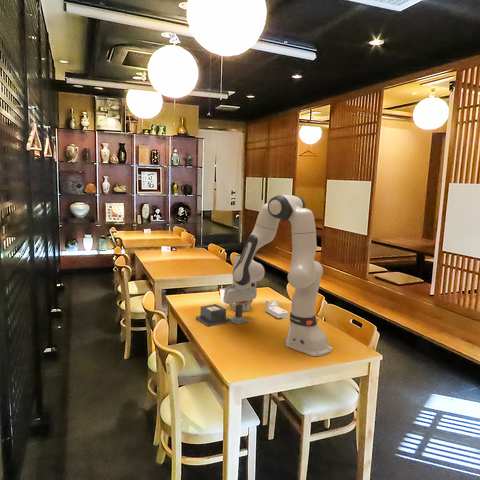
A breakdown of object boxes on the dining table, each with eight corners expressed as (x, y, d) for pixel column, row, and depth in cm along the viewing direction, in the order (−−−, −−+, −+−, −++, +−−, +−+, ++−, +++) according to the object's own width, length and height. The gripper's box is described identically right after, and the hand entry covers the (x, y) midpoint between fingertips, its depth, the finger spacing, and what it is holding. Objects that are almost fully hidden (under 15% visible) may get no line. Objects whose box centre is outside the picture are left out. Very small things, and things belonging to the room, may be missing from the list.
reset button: (220, 318, 205) (221, 309, 204) (211, 320, 201) (211, 311, 201) (214, 315, 210) (214, 306, 209) (205, 316, 206) (205, 307, 205)
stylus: (241, 319, 207) (242, 305, 206) (238, 320, 206) (238, 306, 205) (238, 318, 209) (239, 304, 208) (235, 319, 208) (235, 305, 207)
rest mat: (250, 321, 207) (250, 320, 207) (237, 324, 201) (237, 323, 201) (239, 316, 214) (239, 315, 214) (226, 319, 208) (226, 318, 208)
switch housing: (230, 321, 205) (230, 309, 204) (208, 326, 197) (208, 313, 196) (217, 314, 215) (217, 302, 214) (195, 319, 206) (196, 306, 205)
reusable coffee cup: (228, 309, 224) (229, 284, 222) (237, 304, 235) (238, 280, 233) (247, 313, 219) (249, 288, 217) (256, 307, 230) (257, 283, 228)
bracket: (265, 312, 224) (266, 299, 223) (275, 311, 227) (276, 298, 226) (277, 320, 213) (278, 306, 211) (288, 318, 216) (289, 305, 215)
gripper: (228, 288, 196) (227, 314, 198) (258, 283, 208) (257, 307, 210) (221, 285, 201) (220, 310, 203) (251, 280, 213) (250, 304, 215)
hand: (239, 309), depth 207 cm, fingers open, 8 cm apart
